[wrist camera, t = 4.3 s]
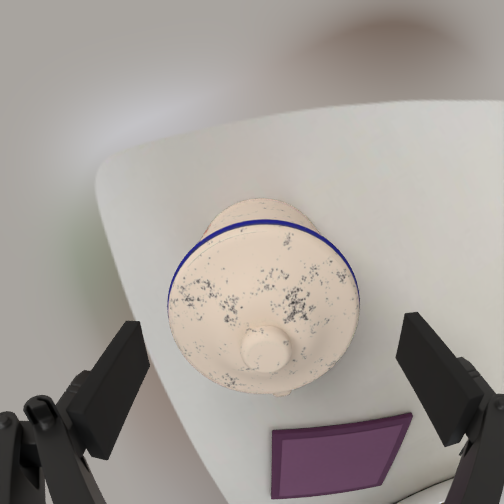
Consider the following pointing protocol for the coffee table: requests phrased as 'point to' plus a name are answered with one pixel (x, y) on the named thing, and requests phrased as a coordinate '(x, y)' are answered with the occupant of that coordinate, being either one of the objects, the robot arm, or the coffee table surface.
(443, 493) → the bowl
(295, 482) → the place mat
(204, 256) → the teacup with lid
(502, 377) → the coffee table surface
